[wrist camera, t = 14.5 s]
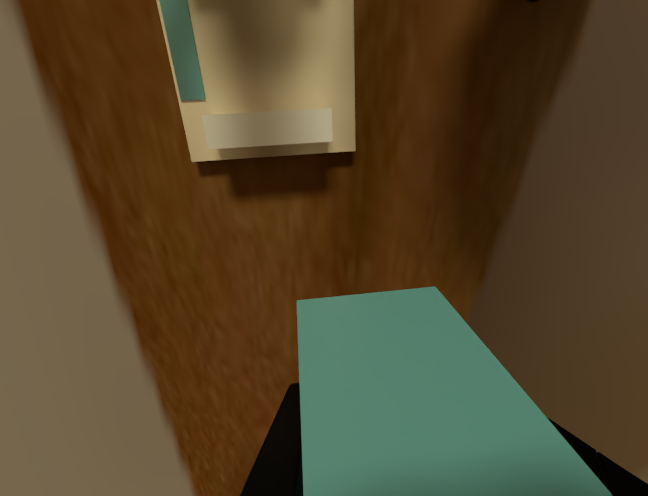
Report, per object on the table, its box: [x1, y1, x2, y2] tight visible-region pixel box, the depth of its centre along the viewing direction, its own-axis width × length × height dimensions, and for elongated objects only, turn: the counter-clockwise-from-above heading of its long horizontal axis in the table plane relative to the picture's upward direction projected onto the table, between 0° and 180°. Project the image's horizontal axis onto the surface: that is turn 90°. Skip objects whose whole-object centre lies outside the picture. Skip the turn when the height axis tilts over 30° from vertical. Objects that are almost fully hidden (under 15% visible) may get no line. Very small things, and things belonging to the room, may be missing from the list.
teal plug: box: [297, 287, 612, 496], centre depth 7 cm, size 4×4×8 cm
